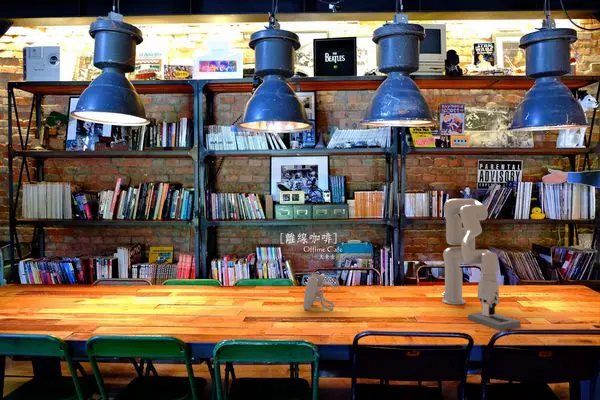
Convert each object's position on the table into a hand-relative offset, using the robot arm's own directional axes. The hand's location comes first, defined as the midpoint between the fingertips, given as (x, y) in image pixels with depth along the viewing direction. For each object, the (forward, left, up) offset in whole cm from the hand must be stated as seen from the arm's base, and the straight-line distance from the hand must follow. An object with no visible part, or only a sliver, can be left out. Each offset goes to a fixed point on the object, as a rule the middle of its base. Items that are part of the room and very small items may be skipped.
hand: (488, 313), depth 250 cm
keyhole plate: (+4, 0, -4) cm, 5 cm away
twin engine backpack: (-59, -63, -4) cm, 87 cm away
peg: (0, 0, -4) cm, 4 cm away
